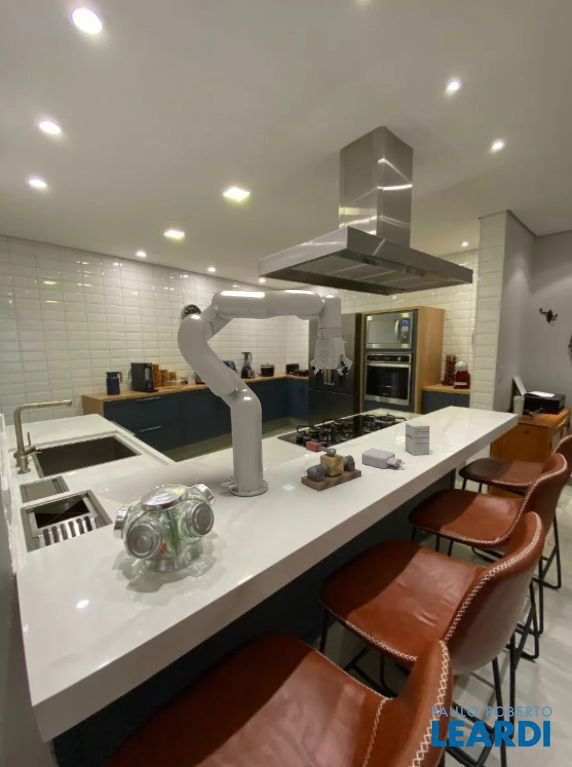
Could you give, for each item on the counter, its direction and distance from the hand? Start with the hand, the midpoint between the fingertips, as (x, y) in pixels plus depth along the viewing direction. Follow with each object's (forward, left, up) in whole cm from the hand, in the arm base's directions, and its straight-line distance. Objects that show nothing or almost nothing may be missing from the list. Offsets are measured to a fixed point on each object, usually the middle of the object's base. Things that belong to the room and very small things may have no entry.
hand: (330, 386), depth 108 cm
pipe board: (+1, +1, -33) cm, 33 cm away
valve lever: (+1, +6, -24) cm, 25 cm away
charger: (+27, -2, -33) cm, 43 cm away
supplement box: (+50, -1, -33) cm, 60 cm away
